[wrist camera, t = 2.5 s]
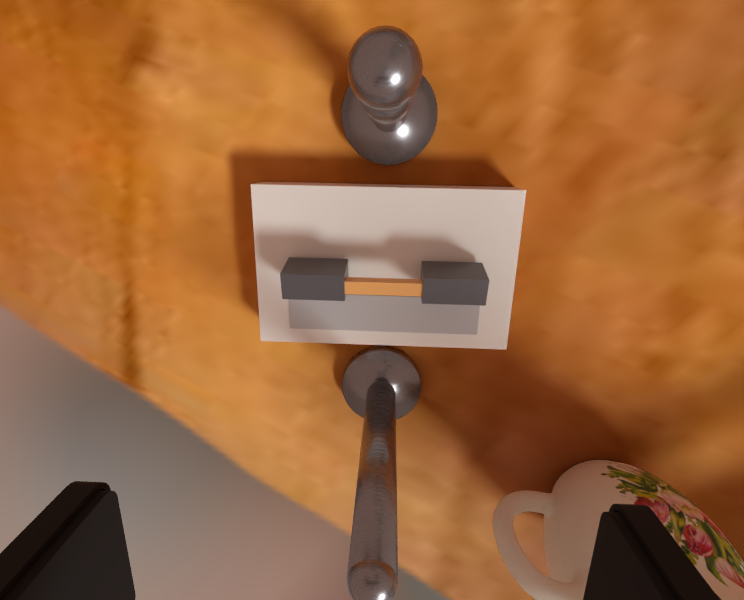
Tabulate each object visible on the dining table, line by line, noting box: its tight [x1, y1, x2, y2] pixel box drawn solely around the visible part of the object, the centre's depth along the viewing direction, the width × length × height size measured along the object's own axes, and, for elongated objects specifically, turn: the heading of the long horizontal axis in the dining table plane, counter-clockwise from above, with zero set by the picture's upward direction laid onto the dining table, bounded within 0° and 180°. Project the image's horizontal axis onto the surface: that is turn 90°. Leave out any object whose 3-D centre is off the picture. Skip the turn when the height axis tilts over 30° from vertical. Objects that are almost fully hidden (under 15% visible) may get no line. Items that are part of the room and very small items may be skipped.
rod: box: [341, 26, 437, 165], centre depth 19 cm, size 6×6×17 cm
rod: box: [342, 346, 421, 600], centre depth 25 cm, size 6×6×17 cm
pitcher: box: [493, 460, 744, 600], centre depth 28 cm, size 11×18×14 cm, turn 71°
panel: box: [251, 182, 526, 349], centre depth 29 cm, size 10×16×3 cm, turn 89°
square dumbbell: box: [280, 257, 489, 306], centre depth 26 cm, size 2×12×2 cm, turn 89°
